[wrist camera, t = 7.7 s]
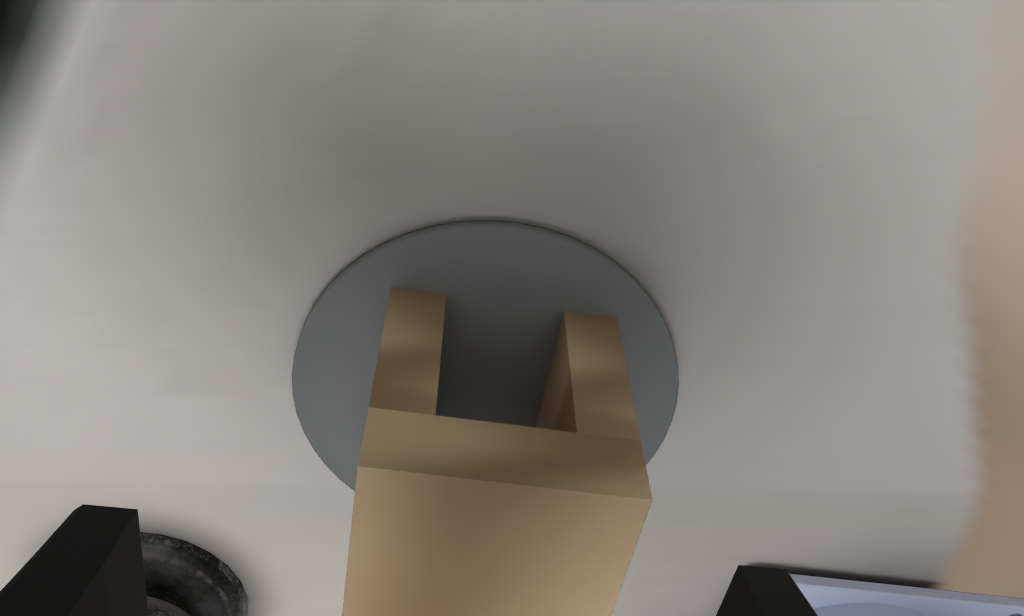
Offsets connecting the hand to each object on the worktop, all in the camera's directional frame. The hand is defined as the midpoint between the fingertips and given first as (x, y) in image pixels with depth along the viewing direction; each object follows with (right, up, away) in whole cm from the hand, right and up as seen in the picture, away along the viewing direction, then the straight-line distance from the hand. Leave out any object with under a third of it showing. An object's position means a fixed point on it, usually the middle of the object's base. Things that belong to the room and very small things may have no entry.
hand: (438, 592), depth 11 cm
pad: (0, +2, +10) cm, 11 cm away
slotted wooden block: (0, +1, +10) cm, 10 cm away
